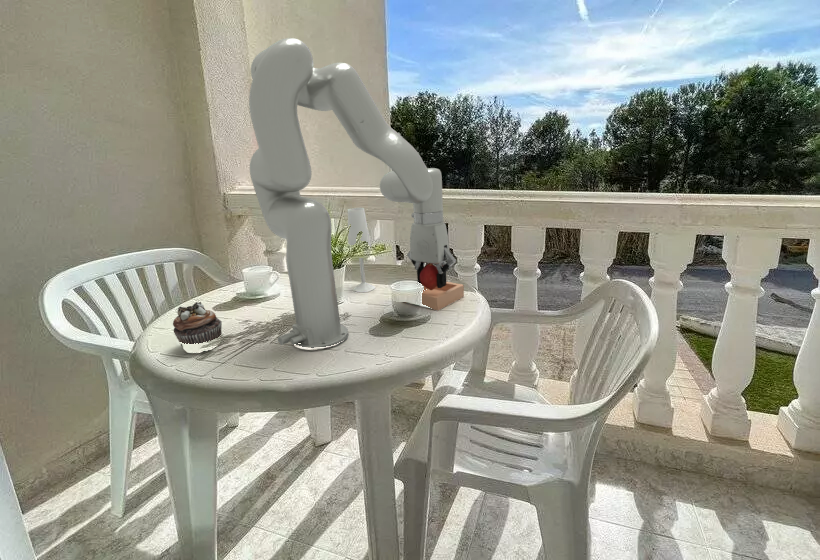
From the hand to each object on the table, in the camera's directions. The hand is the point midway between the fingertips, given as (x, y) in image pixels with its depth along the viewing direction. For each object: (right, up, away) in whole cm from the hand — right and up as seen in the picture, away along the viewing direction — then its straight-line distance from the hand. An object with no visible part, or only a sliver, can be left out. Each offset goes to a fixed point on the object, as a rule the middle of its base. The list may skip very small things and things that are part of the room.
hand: (431, 284), depth 113 cm
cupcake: (-53, -14, -17) cm, 58 cm away
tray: (0, -4, +1) cm, 4 cm away
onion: (0, -2, 0) cm, 2 cm away
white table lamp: (-20, -2, +14) cm, 25 cm away
